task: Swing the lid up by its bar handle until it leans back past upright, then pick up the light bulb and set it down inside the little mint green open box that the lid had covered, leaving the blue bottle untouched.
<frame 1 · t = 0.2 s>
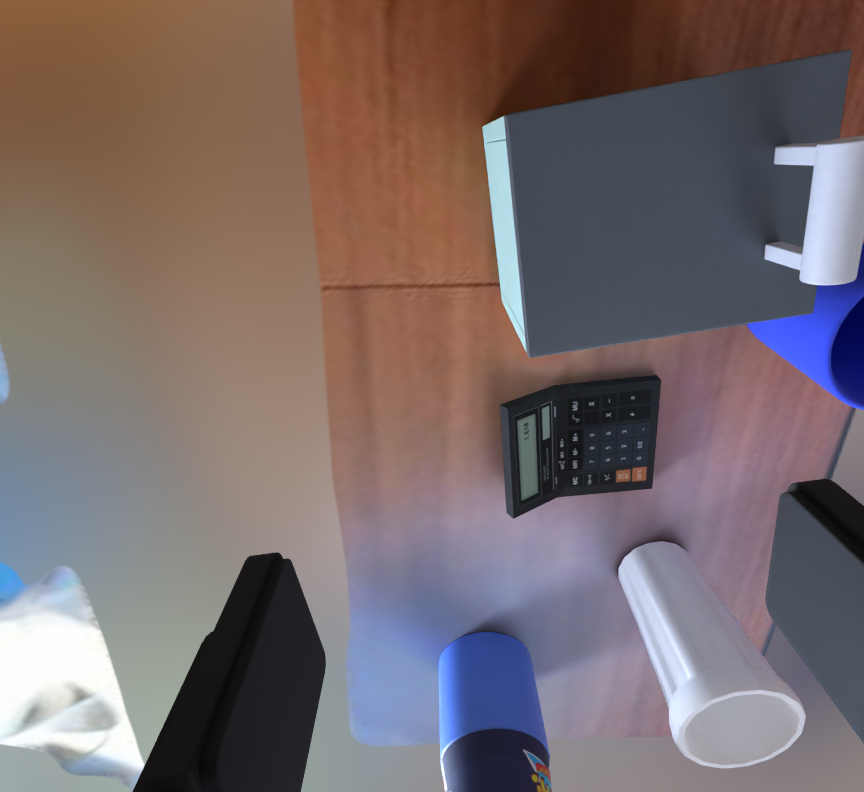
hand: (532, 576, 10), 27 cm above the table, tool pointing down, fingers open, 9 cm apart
blue bottle: (484, 663, 51), on the table
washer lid: (691, 227, 21), point 13 cm above the table, hinge at 0.0°
calculator: (574, 437, 40), on the table
cup: (651, 564, 46), on the table
mug: (793, 262, 35), on the table
mint green open box: (593, 202, 33), on the table
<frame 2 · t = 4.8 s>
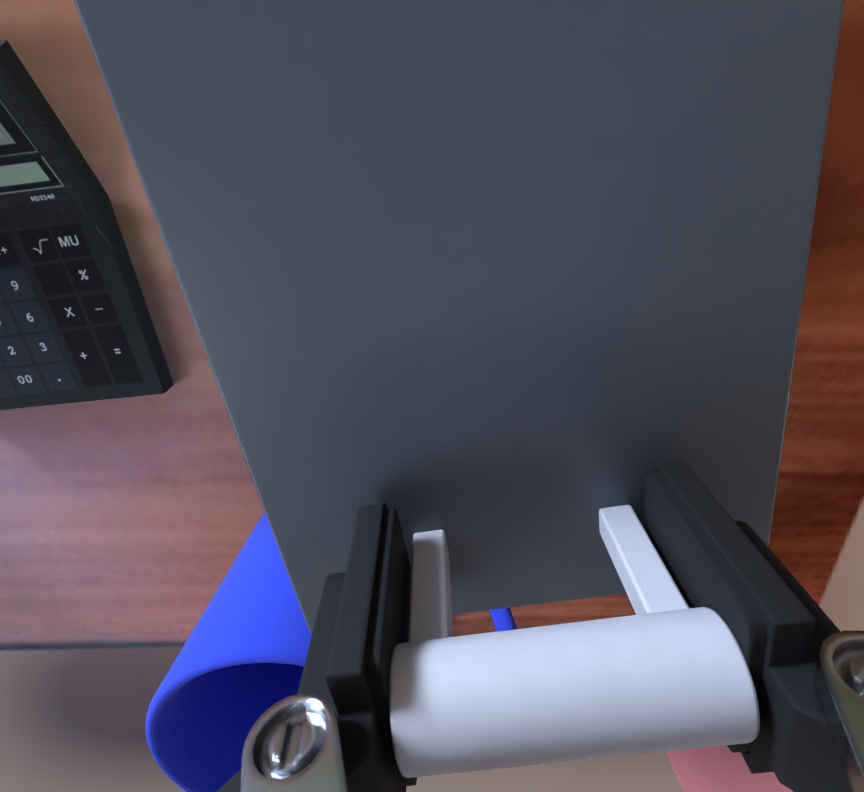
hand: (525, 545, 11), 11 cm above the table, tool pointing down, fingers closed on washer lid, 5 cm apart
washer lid: (514, 376, 8), point 13 cm above the table, hinge at 0.0°, touching gripper
calculator: (5, 253, 19), on the table
mug: (376, 529, 25), on the table
light bulb: (669, 562, 26), on the table
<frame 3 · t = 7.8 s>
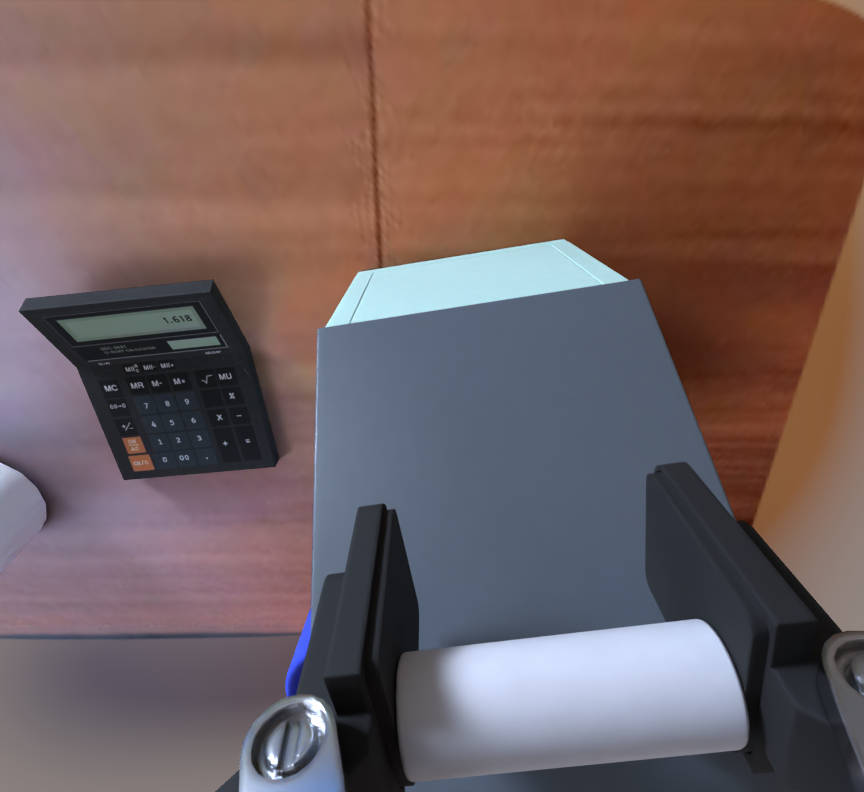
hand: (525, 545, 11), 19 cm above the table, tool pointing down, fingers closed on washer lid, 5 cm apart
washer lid: (510, 474, 12), point 17 cm above the table, hinge at 55.2°, touching gripper
calculator: (177, 378, 30), on the table
cup: (2, 495, 33), on the table
mug: (410, 554, 36), on the table
mint green open box: (474, 368, 30), on the table
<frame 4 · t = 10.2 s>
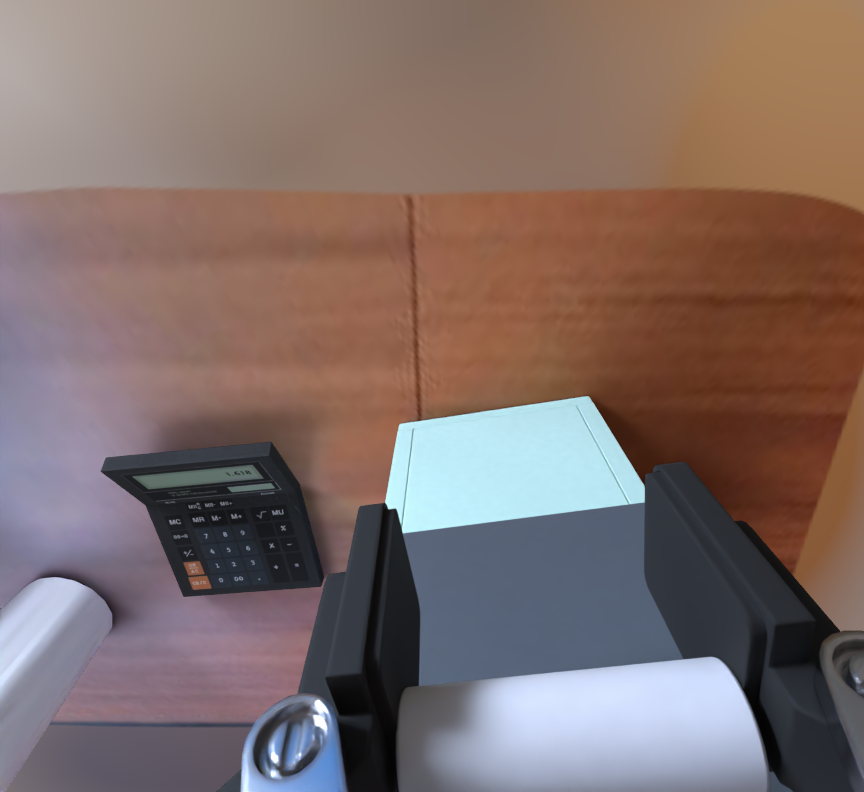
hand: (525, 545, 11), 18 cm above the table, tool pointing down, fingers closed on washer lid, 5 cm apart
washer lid: (535, 611, 13), point 17 cm above the table, hinge at 93.5°, touching gripper
calculator: (233, 509, 33), on the table
cup: (72, 604, 37), on the table
mint green open box: (505, 502, 32), on the table
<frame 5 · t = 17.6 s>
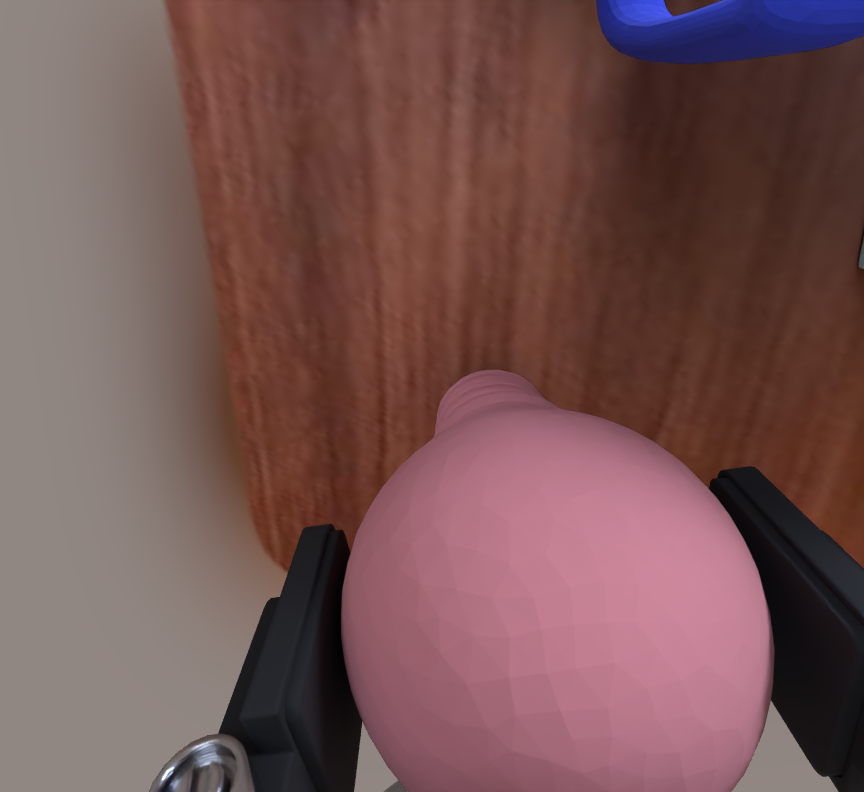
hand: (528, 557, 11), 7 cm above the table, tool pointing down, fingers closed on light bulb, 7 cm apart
light bulb: (489, 400, 17), on the table, touching gripper
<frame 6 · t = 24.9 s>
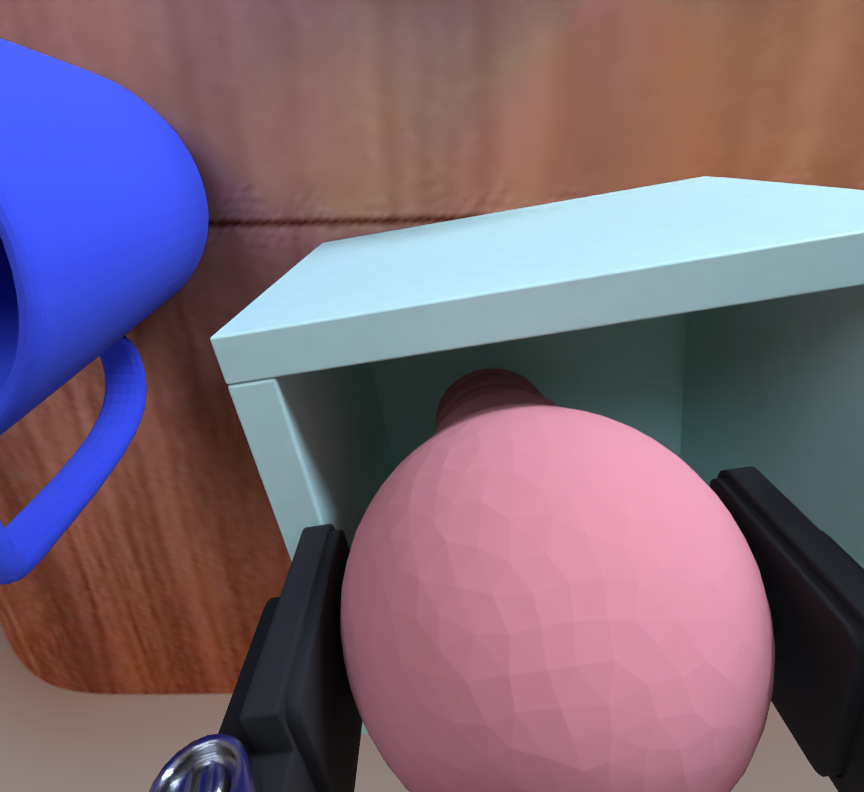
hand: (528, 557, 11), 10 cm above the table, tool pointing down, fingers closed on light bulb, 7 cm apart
mug: (132, 256, 18), on the table
light bulb: (489, 399, 17), point 3 cm above the table, touching gripper
mint green open box: (523, 360, 19), on the table
when the fingers open (10 cm above the table, at t = 25.8 s): light bulb stays where it is, resting on mint green open box.
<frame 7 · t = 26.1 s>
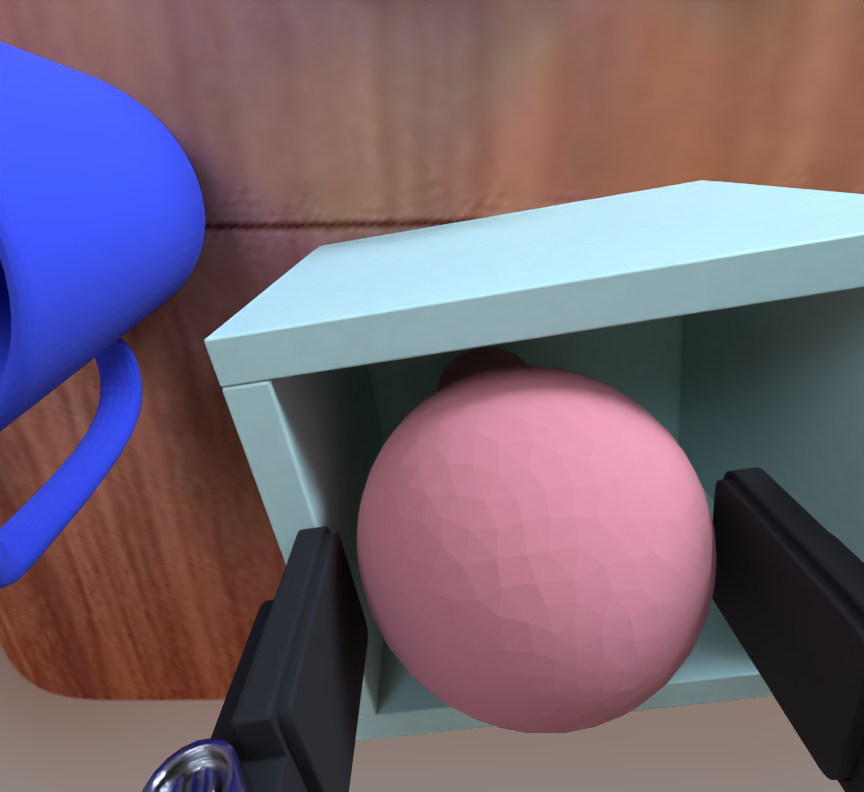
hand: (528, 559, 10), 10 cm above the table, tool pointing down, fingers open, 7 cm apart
mug: (128, 259, 18), on the table
light bulb: (485, 377, 19), point 1 cm above the table, touching mint green open box
mint green open box: (520, 363, 19), on the table
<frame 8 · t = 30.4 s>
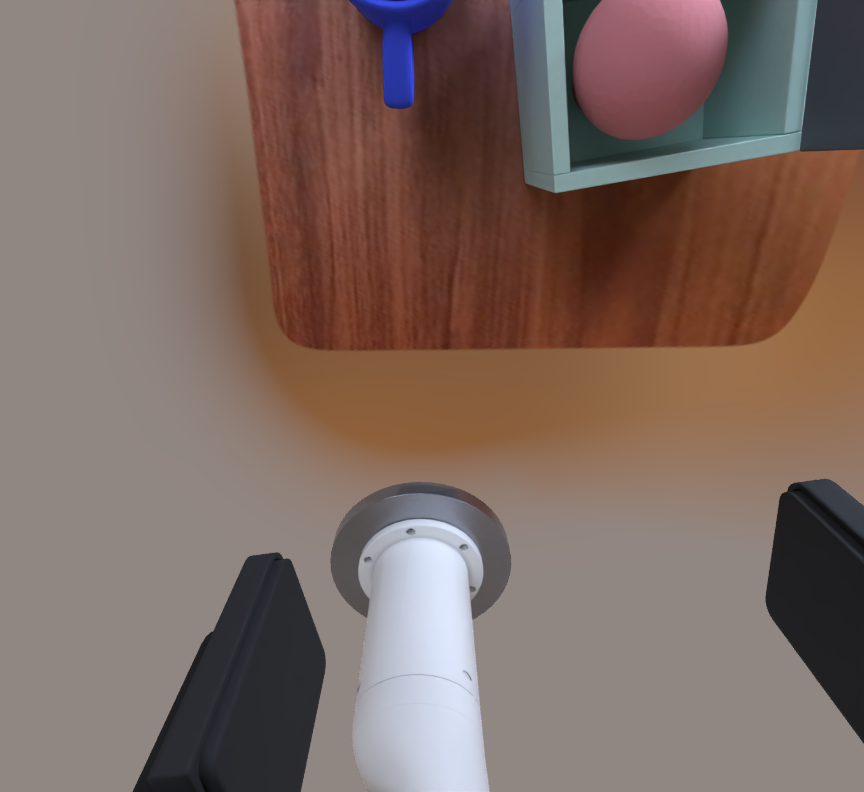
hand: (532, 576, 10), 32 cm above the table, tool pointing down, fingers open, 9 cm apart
mug: (404, 10, 33), on the table
light bulb: (596, 82, 34), point 1 cm above the table, touching mint green open box
mint green open box: (614, 79, 34), on the table
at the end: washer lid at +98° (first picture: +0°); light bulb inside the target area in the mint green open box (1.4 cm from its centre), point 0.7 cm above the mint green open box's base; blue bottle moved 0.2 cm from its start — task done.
